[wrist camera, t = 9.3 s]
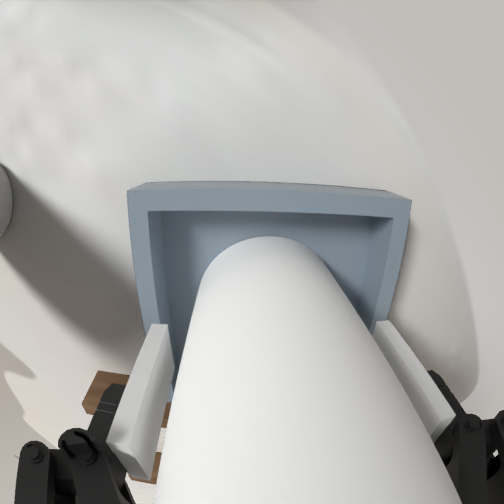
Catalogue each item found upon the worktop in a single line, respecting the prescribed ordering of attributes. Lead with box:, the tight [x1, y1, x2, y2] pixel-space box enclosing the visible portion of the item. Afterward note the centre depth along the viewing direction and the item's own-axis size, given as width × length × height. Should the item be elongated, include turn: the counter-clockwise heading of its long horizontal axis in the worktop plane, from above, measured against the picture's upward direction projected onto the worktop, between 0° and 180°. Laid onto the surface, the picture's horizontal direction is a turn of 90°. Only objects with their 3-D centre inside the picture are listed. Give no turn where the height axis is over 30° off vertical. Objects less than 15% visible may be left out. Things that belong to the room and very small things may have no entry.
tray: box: [127, 181, 412, 402], centre depth 16 cm, size 14×14×3 cm
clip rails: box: [82, 371, 172, 484], centre depth 21 cm, size 14×9×4 cm, turn 178°
